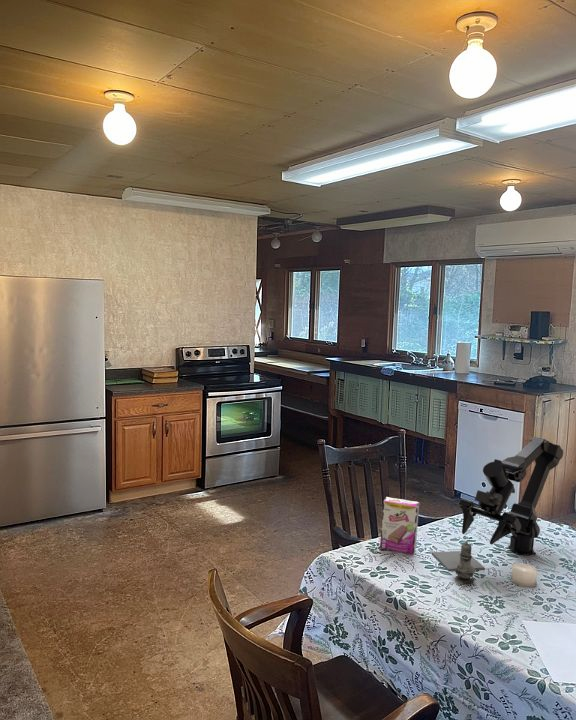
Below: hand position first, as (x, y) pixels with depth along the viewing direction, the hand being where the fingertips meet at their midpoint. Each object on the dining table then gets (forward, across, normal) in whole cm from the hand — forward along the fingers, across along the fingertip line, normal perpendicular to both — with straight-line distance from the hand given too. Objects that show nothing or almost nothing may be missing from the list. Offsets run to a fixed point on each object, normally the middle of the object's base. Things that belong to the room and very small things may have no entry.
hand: (476, 538), depth 174 cm
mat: (+5, -8, +11) cm, 15 cm away
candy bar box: (+11, -25, +5) cm, 28 cm away
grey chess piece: (+12, 0, +5) cm, 13 cm away
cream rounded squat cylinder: (+2, +11, +15) cm, 18 cm away
